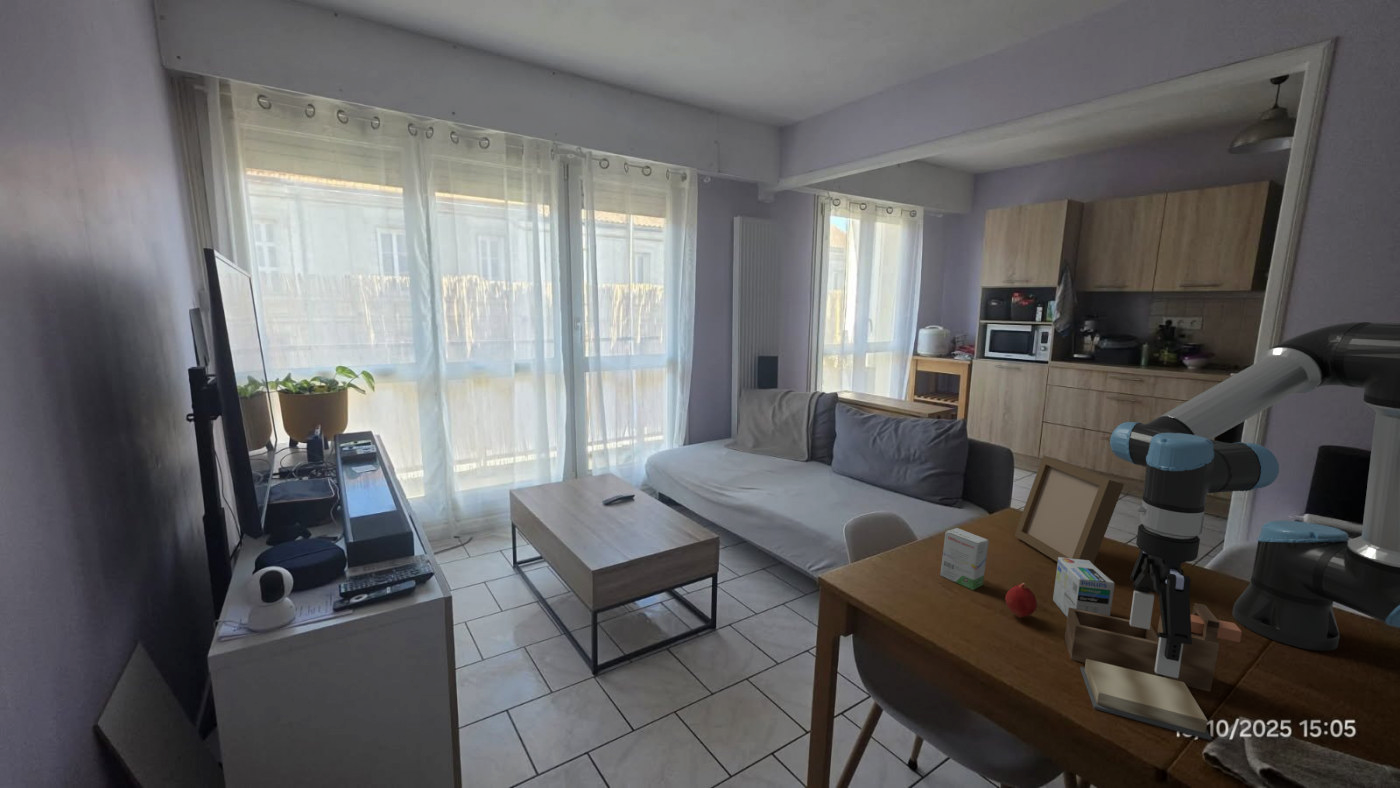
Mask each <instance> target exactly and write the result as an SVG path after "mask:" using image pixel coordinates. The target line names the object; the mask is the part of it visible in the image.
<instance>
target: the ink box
mask: <svg viewBox="0 0 1400 788" xmlns="http://www.w3.org/2000/svg"><path fill="white" fill-rule="evenodd" d="M989 542H990V540H989V539H987V538H984V537H982V536H979V535H976V534H973V533H972V532H969V531H966V530H963V529H961V528H958V527H955V528H952V529H949V530H945V534H944V543H943V549H942V550H943V551H942V559H941V567H940V574H939V575H940V576H941V577H943V578H945V579H946V580H947V579H948V580H949V581H951V582H954V583H956V584H958V585H960V586H963V587H965V588H967V589H969V590H972V591H974V590H976V589H978V588H980V587H982V586H983V585H984V581H985V580H984V579H985V570H986V564H987V556H988V549H989V544H990V543H989Z"/></svg>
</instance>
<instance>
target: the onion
mask: <svg viewBox="0 0 1400 788" xmlns="http://www.w3.org/2000/svg"><path fill="white" fill-rule="evenodd" d="M1004 599H1005V600H1004V601H1005V604H1006V606H1007V608H1008V609H1009V610H1010V611H1011V612H1012V613H1013V614H1014V615H1015V616H1016V617H1017V618H1018V619H1022V618H1025V617H1027V616H1030V615H1032V614H1033V613H1035V611H1036V610H1037V607H1038V601H1037V599H1036V595H1035V594H1034V593H1033V591H1031V589H1030V588H1028V587H1027V584H1026V583H1024V582H1022V583H1021V584H1020V583H1019V584H1017V585H1014V586H1012V587H1011V588H1010V589H1009V590H1007V592H1006V593H1005V598H1004Z"/></svg>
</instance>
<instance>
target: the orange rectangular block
mask: <svg viewBox="0 0 1400 788" xmlns="http://www.w3.org/2000/svg"><path fill="white" fill-rule="evenodd" d="M1217 620H1218V621H1219V622H1220V623H1219V628H1218V634H1217V639H1218V638H1219V639H1222V640H1227V641H1232V642H1237V643H1241V638H1242V633H1243V631H1242V630H1241V628H1239V626H1237V624H1236V623H1235V622H1231V621H1230V622H1229V621H1225V620H1221V619H1217ZM1203 628H1204V622H1203V620H1202V619H1201V618H1200V617H1199V616H1196V615H1192V614H1191V632H1193V633H1198V634H1203Z"/></svg>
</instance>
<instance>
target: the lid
mask: <svg viewBox="0 0 1400 788" xmlns="http://www.w3.org/2000/svg"><path fill="white" fill-rule="evenodd" d="M1084 668H1085V672H1086V675H1087V678H1088V681H1089V683H1090V686H1091V689H1092V692H1093V694H1094V697H1095V700H1096V703H1097V704H1098V705H1102V706H1106V707H1110V708H1113V709H1117V710H1121V711H1125V712H1128V713H1132V714H1136V715H1140V716H1143V717H1147V718H1151V719H1154V720H1158V721H1162V722H1166V723H1169V724H1173V725H1177V726H1181V727H1184V728H1188V729H1192V730H1196V731H1199V732H1203V733H1205V732H1206V729H1207V727H1208V726H1207V725H1208V720H1209V719H1207V717H1206V716H1205V714H1204V712H1203V710H1202V709H1201V708H1200V706H1199V704H1198V703H1197V701H1196V699H1195V697H1194V696H1193V695H1192V693H1191V691H1190V689H1189V687H1188V686H1186V685H1185V683H1184V682H1181V681H1177V680H1172V679H1168V678H1164V677H1161V675H1158V676H1156V675H1152V674H1148V673H1143V672H1139V671H1135V670H1131V669H1127V668H1123V667H1118V666H1114V665H1110V664H1106V663H1102V662H1098V661H1093V660H1089V659H1086V663H1084Z"/></svg>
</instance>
